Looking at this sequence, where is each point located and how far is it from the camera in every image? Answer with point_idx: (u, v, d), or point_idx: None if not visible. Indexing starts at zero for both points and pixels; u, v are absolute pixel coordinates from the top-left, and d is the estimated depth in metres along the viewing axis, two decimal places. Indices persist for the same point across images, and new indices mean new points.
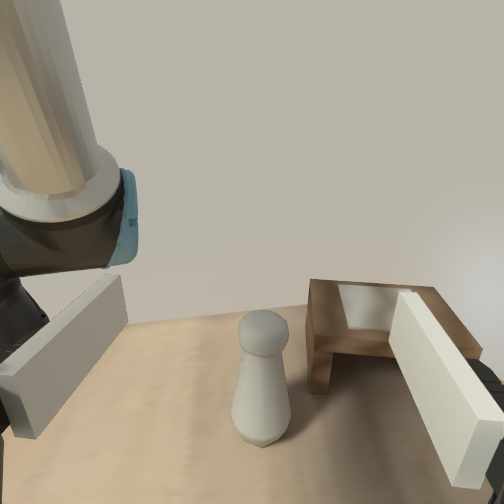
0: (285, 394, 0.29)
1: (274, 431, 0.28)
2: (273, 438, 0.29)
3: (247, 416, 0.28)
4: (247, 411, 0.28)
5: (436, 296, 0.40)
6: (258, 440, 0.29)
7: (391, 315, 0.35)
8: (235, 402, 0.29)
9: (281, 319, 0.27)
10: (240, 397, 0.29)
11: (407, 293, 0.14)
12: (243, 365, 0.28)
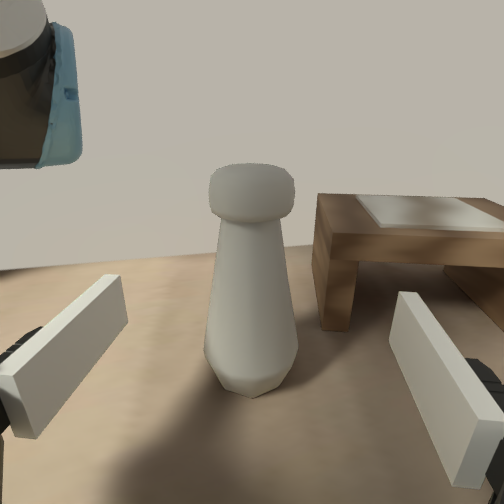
0: (289, 306, 0.18)
1: (272, 366, 0.17)
2: (270, 378, 0.18)
3: (227, 340, 0.17)
4: (227, 331, 0.17)
5: (492, 204, 0.29)
6: (246, 381, 0.17)
7: (438, 215, 0.25)
8: (208, 323, 0.18)
9: (282, 168, 0.16)
10: (215, 309, 0.17)
11: (407, 293, 0.14)
12: (219, 254, 0.17)
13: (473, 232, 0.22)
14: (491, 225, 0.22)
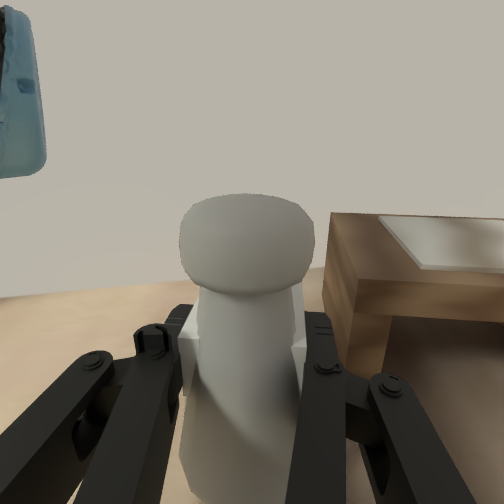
0: None
1: (277, 495, 0.12)
2: None
3: (210, 458, 0.11)
4: (209, 446, 0.11)
5: None
6: None
7: (494, 250, 0.19)
8: (184, 422, 0.13)
9: (294, 204, 0.10)
10: (193, 409, 0.12)
11: None
12: (198, 330, 0.11)
13: None
14: None
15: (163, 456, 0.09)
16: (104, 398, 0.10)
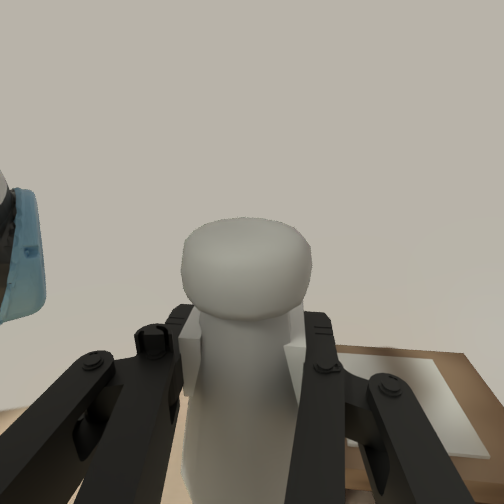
0: None
1: None
2: None
3: (215, 476, 0.12)
4: (213, 465, 0.11)
5: (470, 371, 0.28)
6: None
7: None
8: (187, 441, 0.13)
9: (291, 228, 0.11)
10: (196, 429, 0.12)
11: None
12: None
13: None
14: (464, 446, 0.21)
15: (164, 456, 0.09)
16: (105, 398, 0.10)
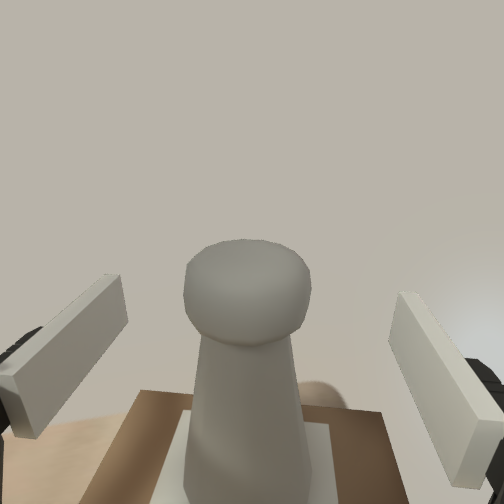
0: (301, 432, 0.13)
1: None
2: None
3: (216, 492, 0.12)
4: (215, 481, 0.12)
5: (380, 446, 0.18)
6: None
7: None
8: (189, 456, 0.13)
9: (291, 252, 0.11)
10: (198, 446, 0.12)
11: (407, 293, 0.14)
12: (202, 371, 0.12)
13: None
14: None
15: None
16: None
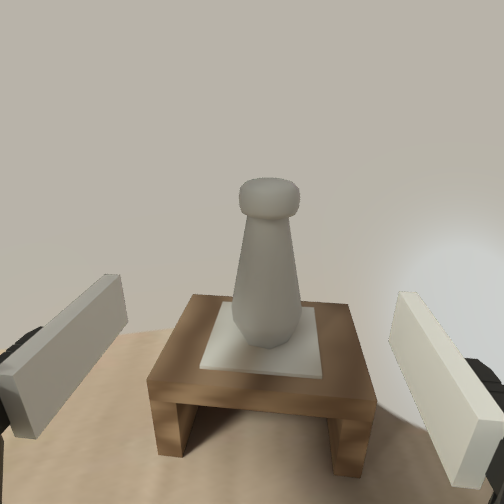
0: (296, 280, 0.25)
1: (285, 322, 0.24)
2: (283, 332, 0.24)
3: (253, 304, 0.24)
4: (252, 298, 0.24)
5: (345, 317, 0.30)
6: (266, 334, 0.24)
7: None
8: (237, 294, 0.25)
9: (290, 181, 0.23)
10: (243, 283, 0.24)
11: (407, 293, 0.14)
12: (246, 243, 0.24)
13: (281, 379, 0.23)
14: (303, 369, 0.24)
15: None
16: None
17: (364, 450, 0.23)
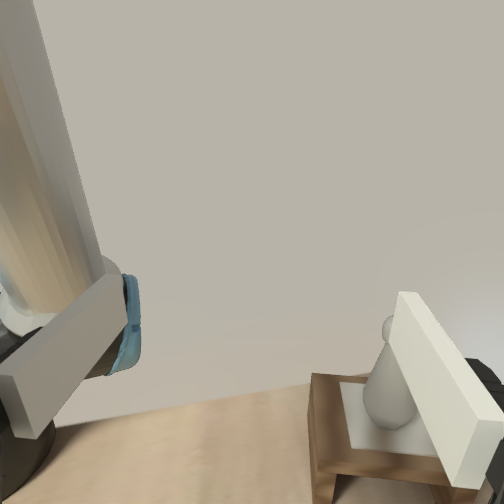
0: None
1: (411, 415, 0.34)
2: (408, 421, 0.34)
3: (390, 403, 0.34)
4: (390, 399, 0.34)
5: None
6: (397, 423, 0.34)
7: None
8: (374, 393, 0.35)
9: None
10: (381, 388, 0.34)
11: (407, 293, 0.14)
12: (386, 361, 0.34)
13: (412, 457, 0.33)
14: (425, 449, 0.34)
15: None
16: None
17: None
